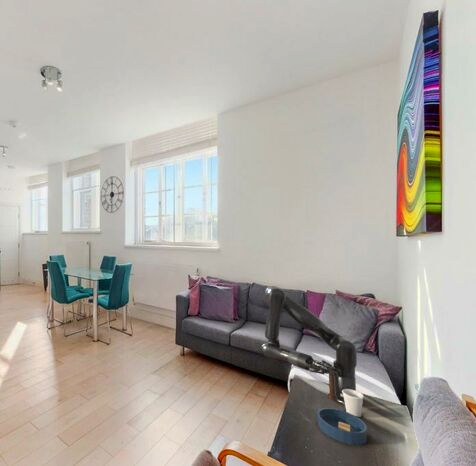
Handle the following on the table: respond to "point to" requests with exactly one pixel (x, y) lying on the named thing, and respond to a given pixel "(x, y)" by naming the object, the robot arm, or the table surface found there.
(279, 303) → the robot arm
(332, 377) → the cylinder
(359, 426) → the bowl
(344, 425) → the wooden block
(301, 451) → the table surface
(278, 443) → the table surface
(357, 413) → the dixie cup
